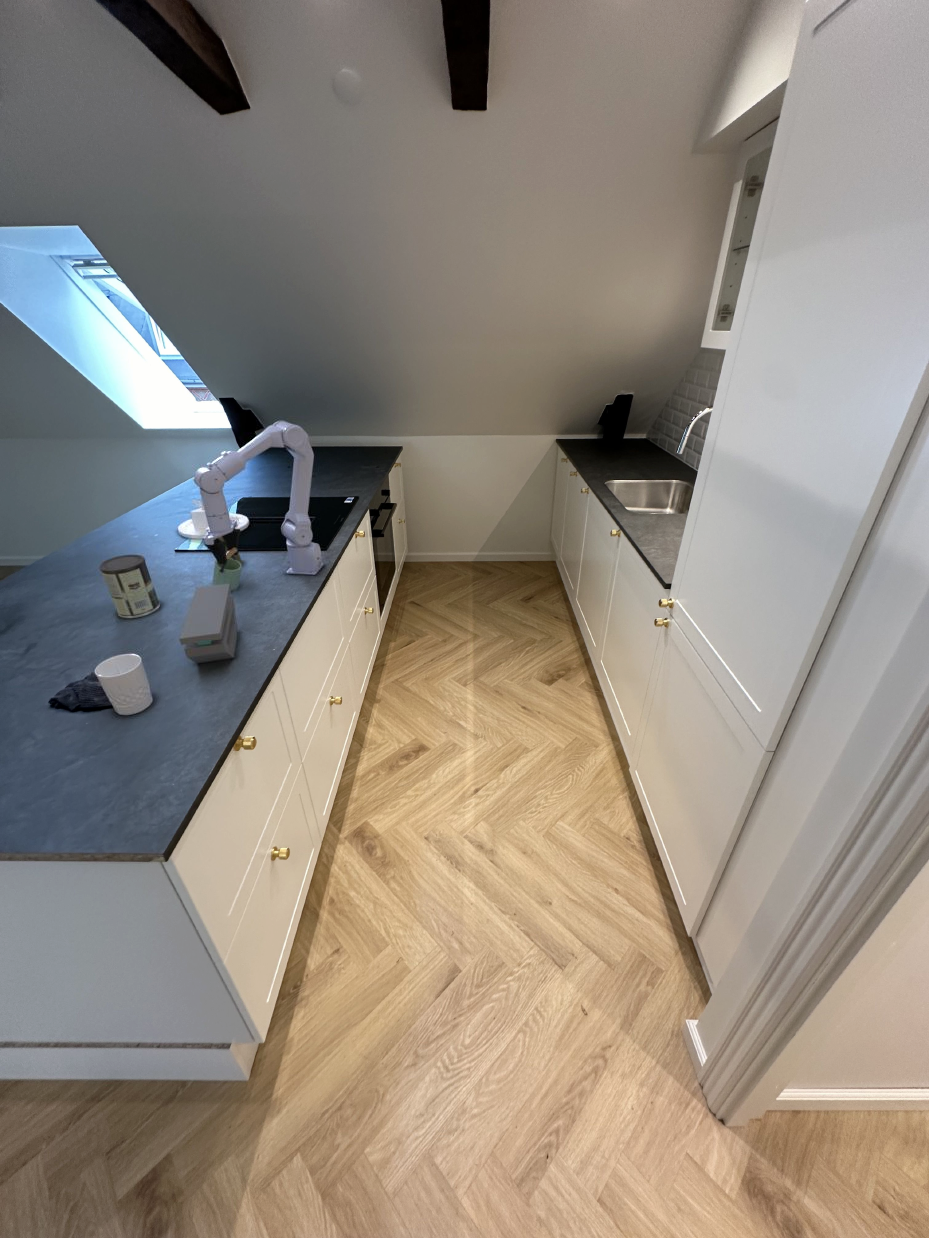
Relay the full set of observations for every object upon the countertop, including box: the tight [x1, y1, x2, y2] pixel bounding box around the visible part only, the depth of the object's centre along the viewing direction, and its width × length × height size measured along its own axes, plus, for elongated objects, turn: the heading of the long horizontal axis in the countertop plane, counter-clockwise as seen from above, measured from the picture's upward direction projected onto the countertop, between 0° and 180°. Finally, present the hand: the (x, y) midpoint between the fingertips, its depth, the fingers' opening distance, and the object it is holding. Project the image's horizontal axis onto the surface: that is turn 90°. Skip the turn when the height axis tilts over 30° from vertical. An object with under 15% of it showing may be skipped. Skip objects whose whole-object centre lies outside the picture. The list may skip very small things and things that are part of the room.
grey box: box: [178, 583, 238, 664], centre depth 121 cm, size 25×8×11 cm, turn 17°
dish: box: [177, 499, 250, 540], centre depth 193 cm, size 25×25×11 cm
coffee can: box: [98, 554, 161, 619], centre depth 136 cm, size 10×10×14 cm
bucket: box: [211, 548, 243, 592], centre depth 148 cm, size 7×8×11 cm
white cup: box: [94, 653, 154, 716], centre depth 102 cm, size 8×8×10 cm
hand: (228, 559), depth 146 cm, fingers closed on bucket, 6 cm apart
